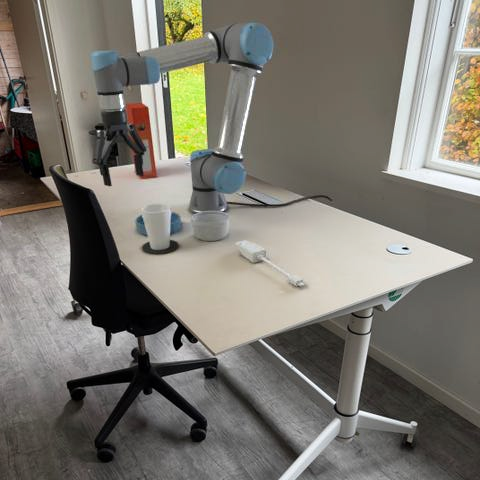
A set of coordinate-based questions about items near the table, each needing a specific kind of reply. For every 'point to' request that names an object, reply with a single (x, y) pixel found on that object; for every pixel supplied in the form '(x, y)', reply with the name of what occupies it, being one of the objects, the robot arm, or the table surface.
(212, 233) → the ramekin
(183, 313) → the table surface
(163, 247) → the foam cup
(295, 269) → the table surface
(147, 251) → the mat
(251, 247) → the charging cable
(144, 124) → the file binder
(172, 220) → the bowl
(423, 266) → the table surface
